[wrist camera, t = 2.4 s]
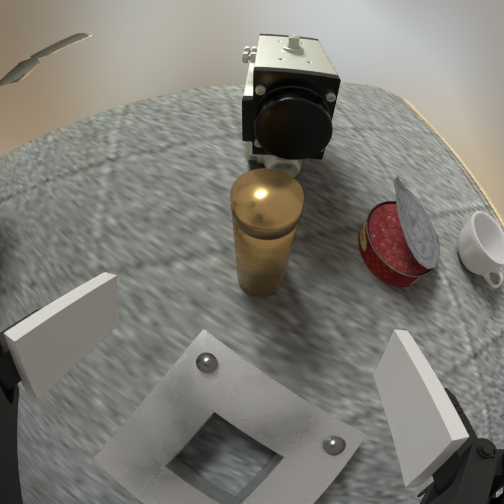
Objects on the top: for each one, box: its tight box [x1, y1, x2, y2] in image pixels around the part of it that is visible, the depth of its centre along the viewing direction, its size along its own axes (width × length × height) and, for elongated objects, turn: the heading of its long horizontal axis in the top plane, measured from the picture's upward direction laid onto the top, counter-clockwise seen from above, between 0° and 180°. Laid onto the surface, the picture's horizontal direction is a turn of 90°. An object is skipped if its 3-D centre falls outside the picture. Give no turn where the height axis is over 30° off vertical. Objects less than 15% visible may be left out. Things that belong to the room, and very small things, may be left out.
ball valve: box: [242, 34, 341, 178], centre depth 28 cm, size 18×8×18 cm, turn 177°
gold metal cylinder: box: [231, 168, 304, 296], centre depth 22 cm, size 5×5×12 cm
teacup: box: [458, 211, 504, 288], centre depth 26 cm, size 10×8×5 cm
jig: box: [94, 329, 366, 504], centre depth 17 cm, size 16×16×4 cm
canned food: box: [358, 177, 440, 287], centre depth 27 cm, size 11×10×10 cm
